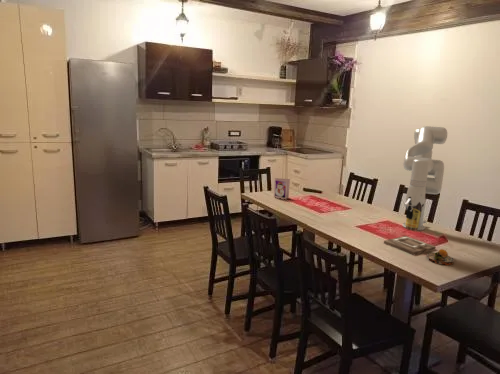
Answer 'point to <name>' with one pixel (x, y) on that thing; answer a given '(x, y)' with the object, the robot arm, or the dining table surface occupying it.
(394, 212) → the dining table surface
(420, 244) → the walnut board
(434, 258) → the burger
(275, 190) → the greeting card
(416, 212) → the sauce bottle
